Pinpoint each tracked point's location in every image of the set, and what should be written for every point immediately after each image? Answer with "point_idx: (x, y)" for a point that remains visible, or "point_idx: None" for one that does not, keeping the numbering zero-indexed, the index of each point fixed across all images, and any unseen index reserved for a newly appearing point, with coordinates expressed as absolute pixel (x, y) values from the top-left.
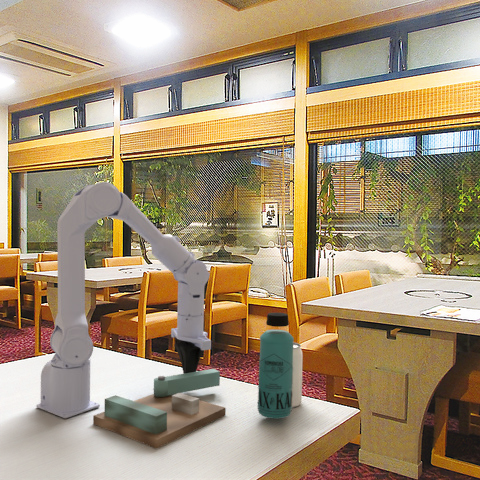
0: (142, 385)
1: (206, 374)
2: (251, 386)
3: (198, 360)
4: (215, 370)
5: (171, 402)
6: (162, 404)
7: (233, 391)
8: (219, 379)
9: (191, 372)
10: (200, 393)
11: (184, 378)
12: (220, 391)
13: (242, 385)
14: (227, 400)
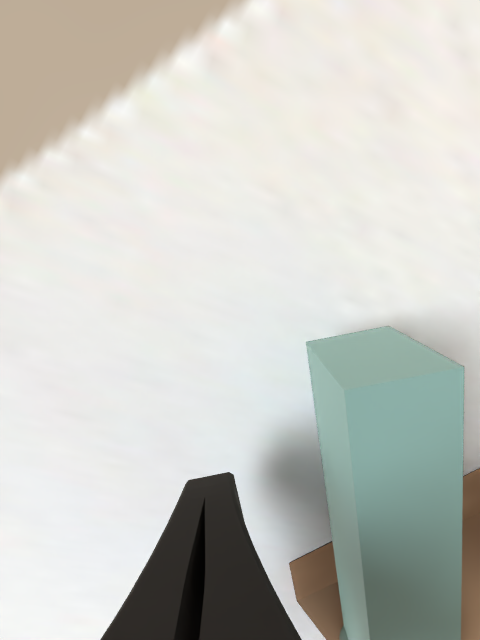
0: (87, 617)
1: (460, 491)
2: (317, 12)
3: (273, 591)
4: (410, 394)
5: (476, 601)
6: (478, 633)
7: (358, 207)
8: (415, 342)
9: (366, 585)
10: (307, 405)
11: (458, 638)
12: (323, 288)
13: (268, 78)
14: (477, 306)
